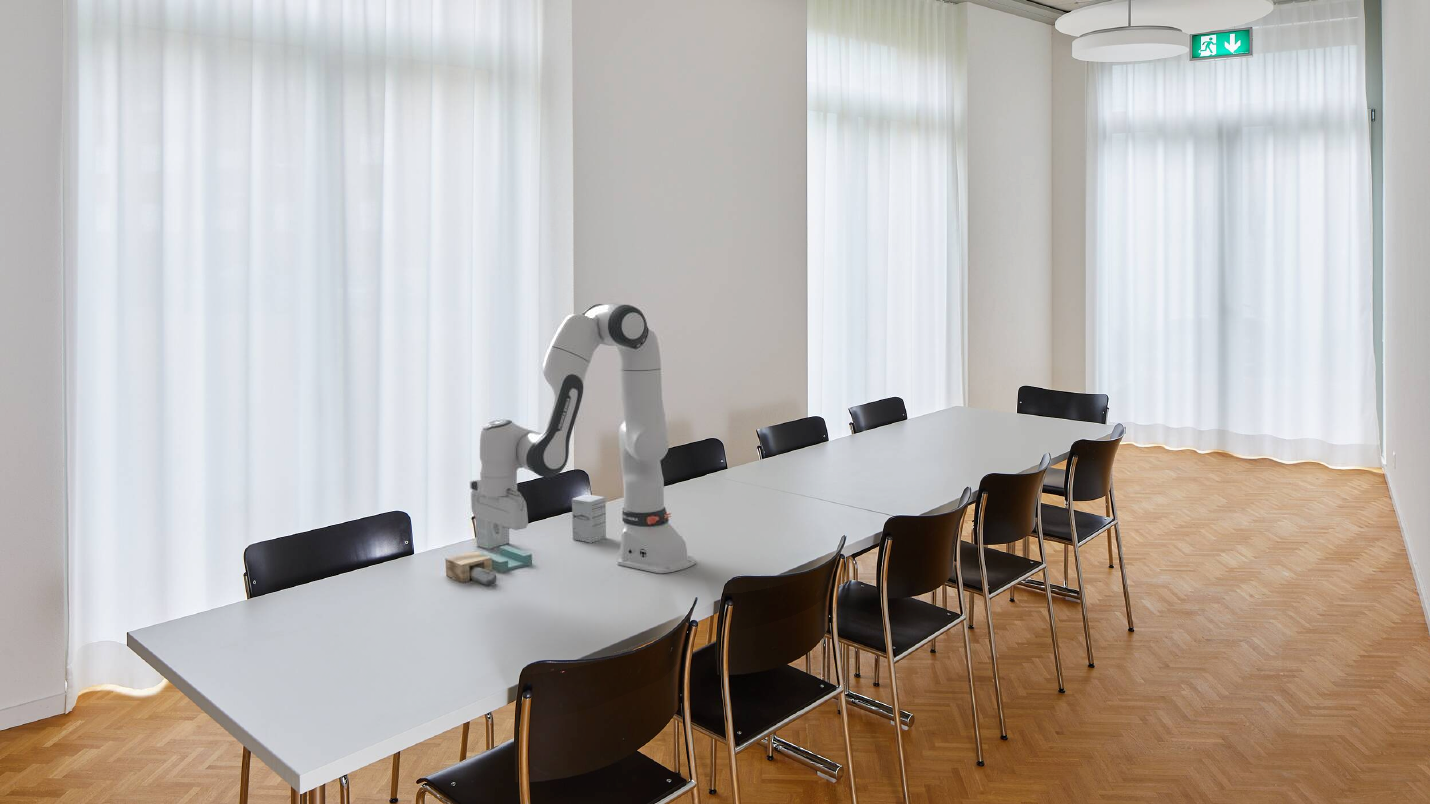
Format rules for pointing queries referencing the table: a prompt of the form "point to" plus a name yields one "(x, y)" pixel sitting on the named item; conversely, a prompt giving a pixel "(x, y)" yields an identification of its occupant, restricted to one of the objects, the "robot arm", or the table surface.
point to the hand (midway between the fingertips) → (500, 540)
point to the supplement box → (589, 518)
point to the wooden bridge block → (466, 565)
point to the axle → (482, 575)
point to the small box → (487, 534)
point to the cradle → (509, 558)
